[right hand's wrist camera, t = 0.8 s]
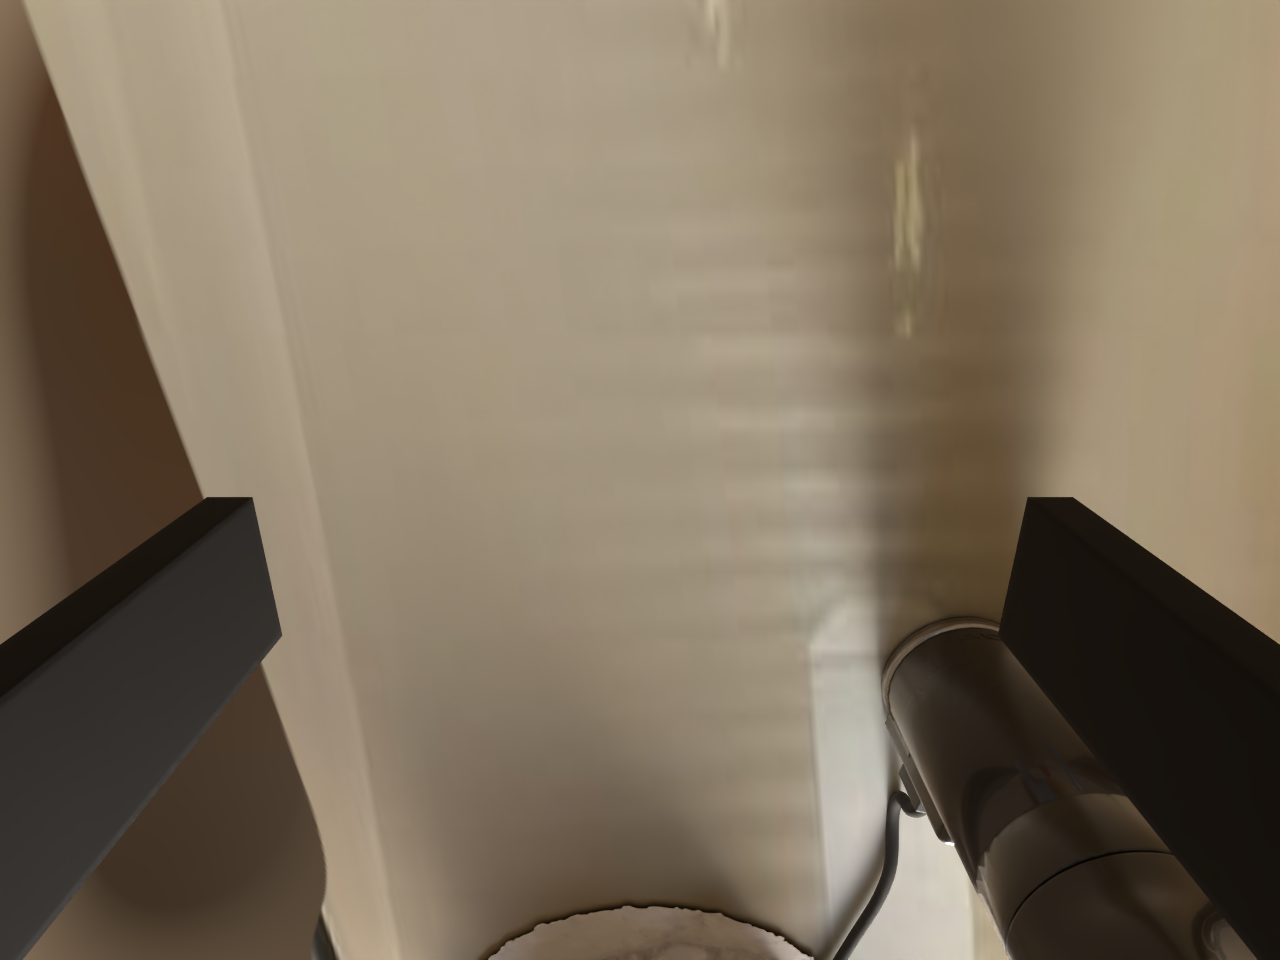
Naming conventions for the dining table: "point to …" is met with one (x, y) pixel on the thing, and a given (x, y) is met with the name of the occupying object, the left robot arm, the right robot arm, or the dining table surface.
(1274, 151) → the dining table surface
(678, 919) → the clay sculpture
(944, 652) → the left robot arm
